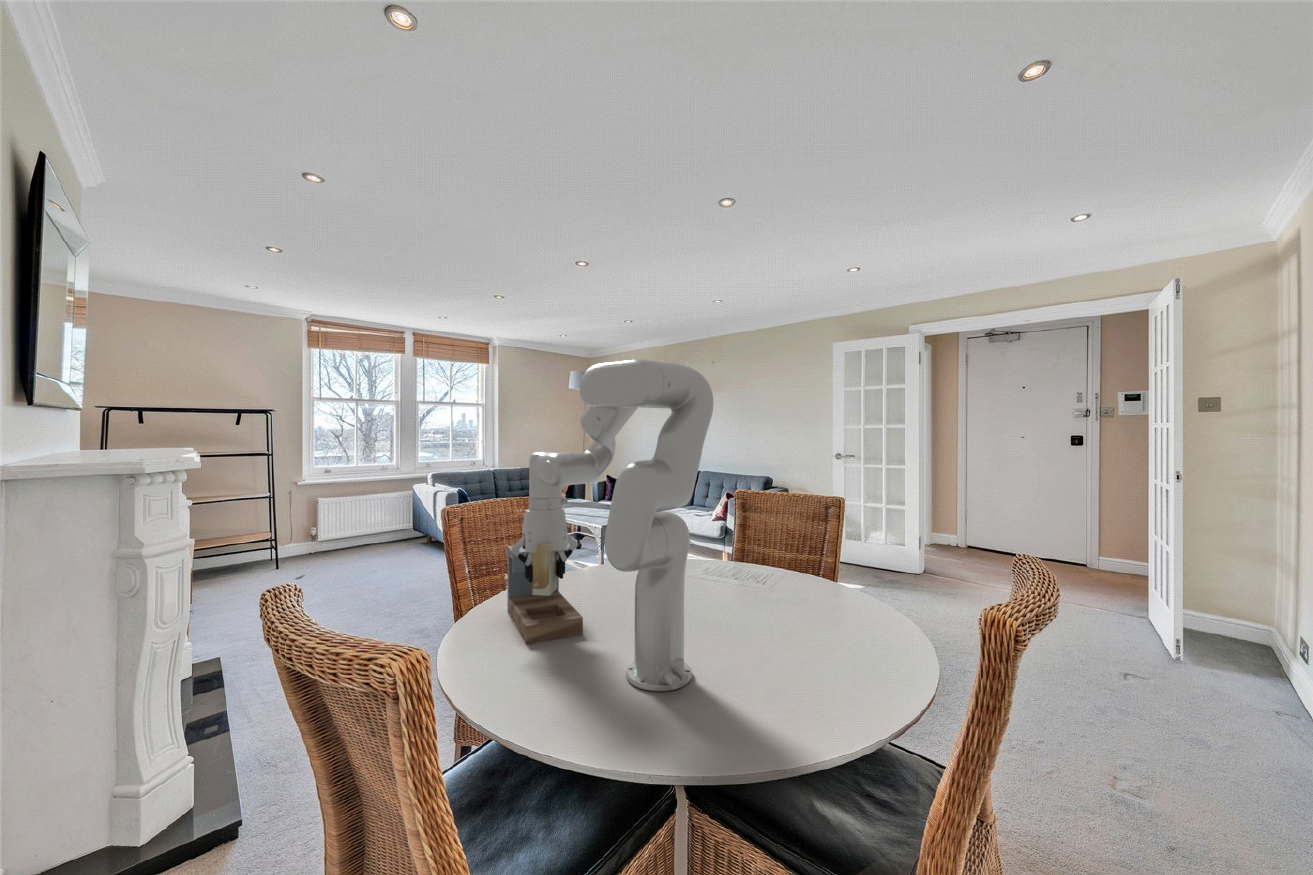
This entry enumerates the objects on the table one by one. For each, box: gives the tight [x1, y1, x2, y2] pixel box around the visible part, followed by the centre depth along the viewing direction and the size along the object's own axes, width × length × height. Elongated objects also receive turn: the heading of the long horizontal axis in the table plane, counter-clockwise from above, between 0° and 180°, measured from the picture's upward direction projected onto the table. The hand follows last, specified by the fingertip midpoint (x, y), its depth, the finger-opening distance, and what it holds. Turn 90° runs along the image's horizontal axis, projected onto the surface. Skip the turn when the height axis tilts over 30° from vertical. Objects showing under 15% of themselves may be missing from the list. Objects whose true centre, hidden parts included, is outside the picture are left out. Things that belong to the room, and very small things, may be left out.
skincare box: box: [533, 543, 557, 596], centre depth 125 cm, size 6×4×12 cm
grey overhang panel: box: [506, 545, 566, 614], centre depth 136 cm, size 8×13×17 cm, turn 116°
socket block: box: [508, 591, 584, 645], centre depth 129 cm, size 21×13×4 cm, turn 26°
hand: (545, 578), depth 125 cm, fingers closed on skincare box, 6 cm apart
